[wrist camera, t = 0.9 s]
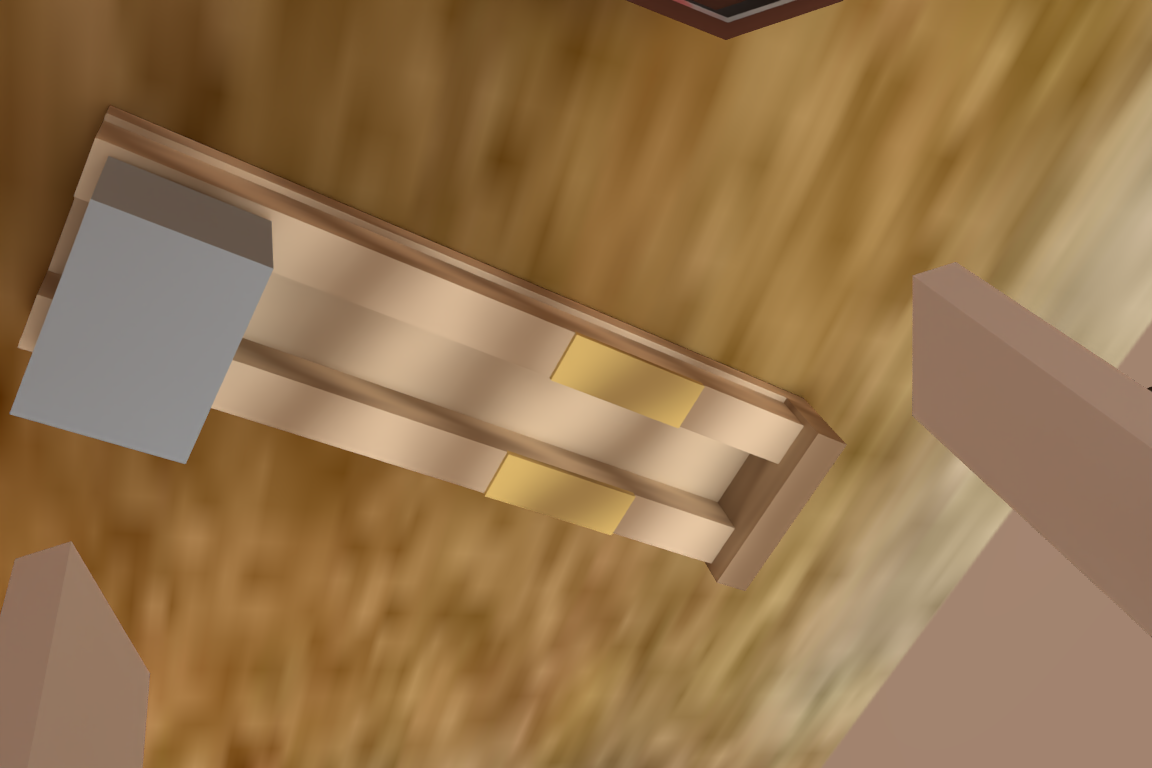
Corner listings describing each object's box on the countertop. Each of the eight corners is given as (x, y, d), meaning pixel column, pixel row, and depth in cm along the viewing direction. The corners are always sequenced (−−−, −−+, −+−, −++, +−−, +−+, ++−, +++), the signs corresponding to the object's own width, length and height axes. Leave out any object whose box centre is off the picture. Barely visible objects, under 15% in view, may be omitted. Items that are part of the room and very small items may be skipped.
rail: (32, 315, 36) (8, 368, 32) (110, 105, 33) (93, 139, 30) (711, 536, 49) (745, 591, 46) (803, 398, 46) (846, 444, 43)
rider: (45, 325, 35) (9, 414, 30) (115, 137, 32) (90, 198, 27) (194, 373, 37) (185, 464, 32) (270, 200, 35) (273, 268, 30)
